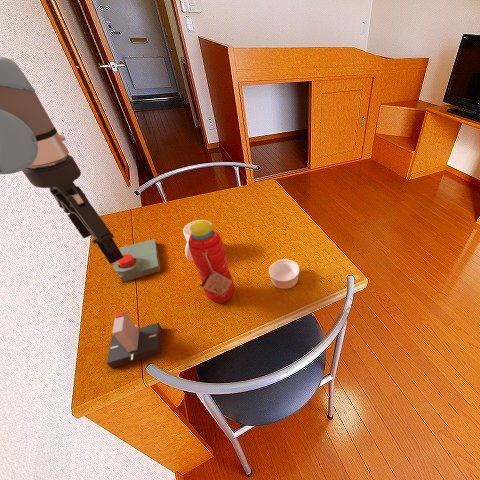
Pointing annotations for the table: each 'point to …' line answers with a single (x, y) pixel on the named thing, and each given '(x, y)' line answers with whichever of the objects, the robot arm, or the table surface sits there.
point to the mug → (187, 235)
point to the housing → (139, 260)
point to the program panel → (146, 347)
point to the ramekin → (284, 273)
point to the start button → (126, 261)
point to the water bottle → (211, 261)
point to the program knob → (126, 331)
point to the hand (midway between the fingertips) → (102, 247)
